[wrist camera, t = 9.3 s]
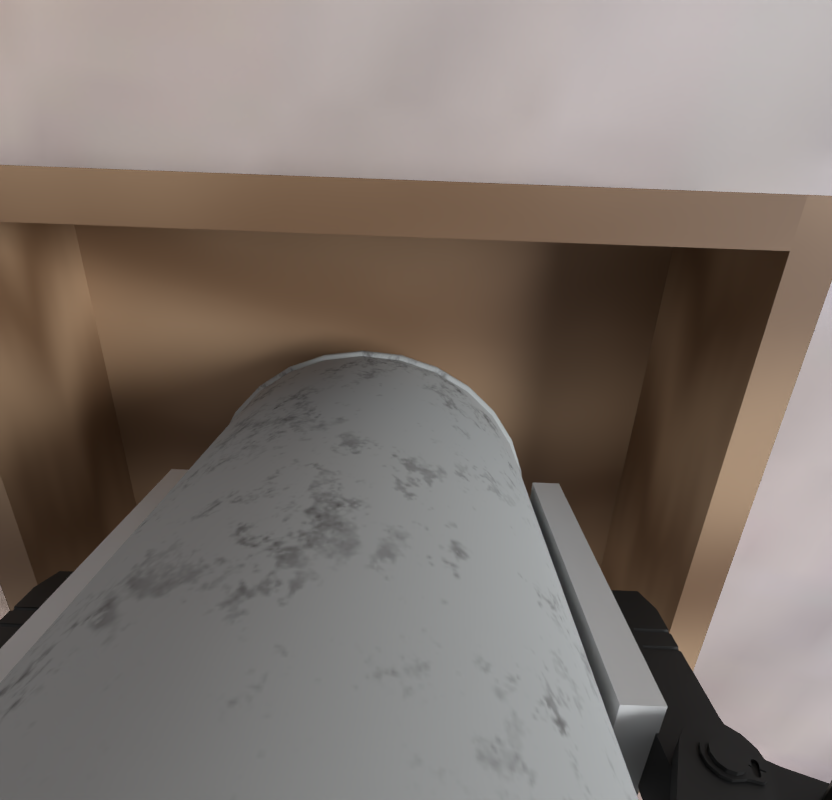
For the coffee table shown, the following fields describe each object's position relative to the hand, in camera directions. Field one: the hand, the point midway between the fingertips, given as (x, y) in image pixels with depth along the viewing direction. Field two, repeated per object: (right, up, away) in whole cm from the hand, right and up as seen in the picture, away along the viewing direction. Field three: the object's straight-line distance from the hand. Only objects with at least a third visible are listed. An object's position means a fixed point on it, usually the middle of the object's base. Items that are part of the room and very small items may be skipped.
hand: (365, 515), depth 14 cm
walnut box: (0, +1, +3) cm, 4 cm away
